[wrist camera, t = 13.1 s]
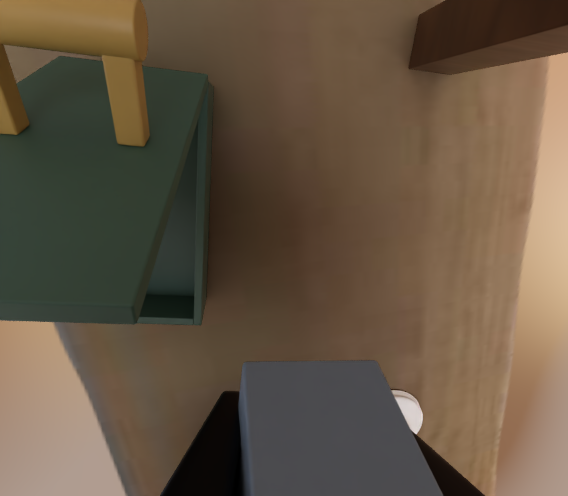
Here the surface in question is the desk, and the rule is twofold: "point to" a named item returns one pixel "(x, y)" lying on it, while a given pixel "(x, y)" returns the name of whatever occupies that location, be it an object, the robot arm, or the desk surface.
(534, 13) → the post
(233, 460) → the robot arm
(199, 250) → the chest
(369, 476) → the block
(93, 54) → the lid
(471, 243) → the desk surface
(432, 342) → the desk surface
